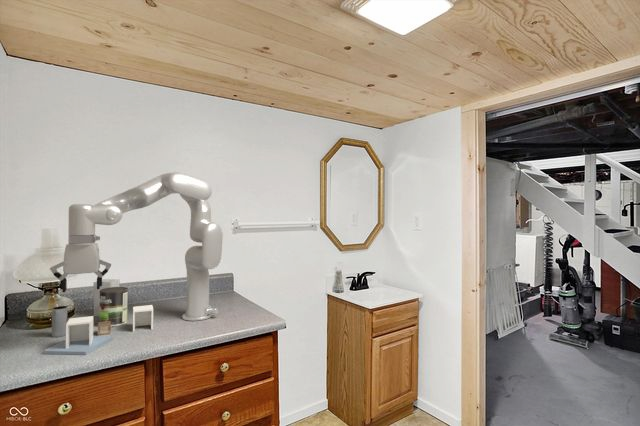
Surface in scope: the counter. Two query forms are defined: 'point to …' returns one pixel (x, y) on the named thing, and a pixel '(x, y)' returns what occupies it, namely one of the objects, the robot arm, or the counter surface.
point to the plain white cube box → (142, 316)
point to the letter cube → (104, 328)
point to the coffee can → (113, 305)
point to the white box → (79, 330)
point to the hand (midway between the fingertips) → (81, 289)
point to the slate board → (78, 346)
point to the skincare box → (105, 284)
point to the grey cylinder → (59, 321)
